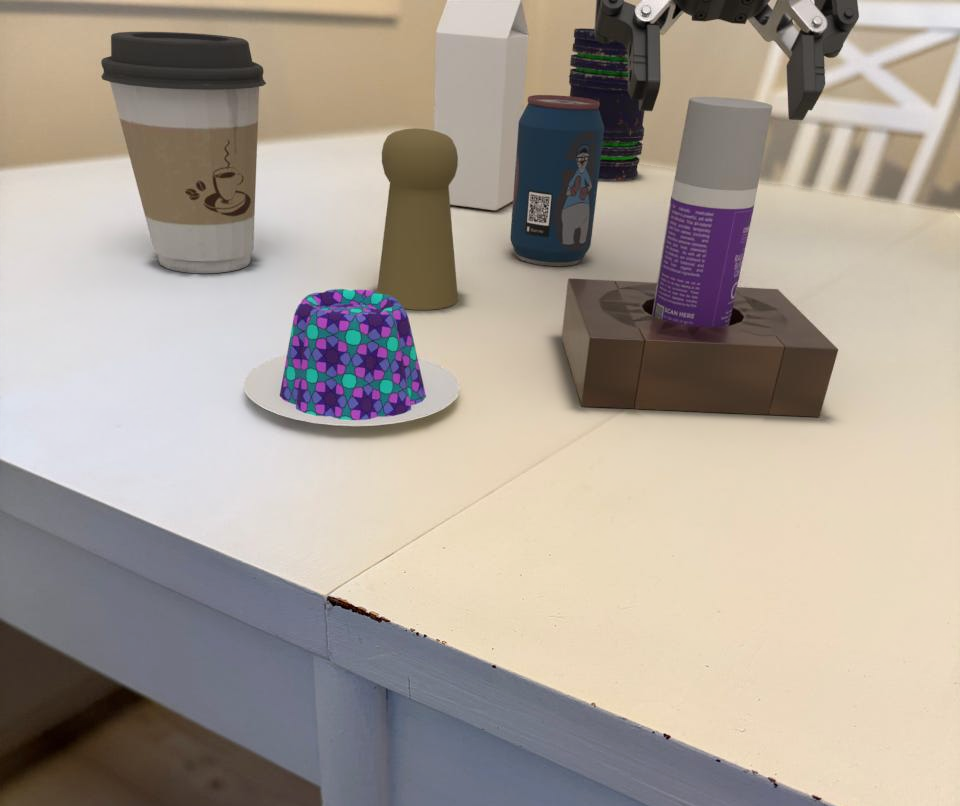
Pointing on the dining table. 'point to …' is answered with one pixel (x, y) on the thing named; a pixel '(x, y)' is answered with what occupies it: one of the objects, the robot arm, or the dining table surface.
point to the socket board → (694, 353)
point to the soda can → (556, 179)
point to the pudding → (351, 365)
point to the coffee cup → (190, 142)
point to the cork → (419, 220)
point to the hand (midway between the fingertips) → (726, 105)
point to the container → (711, 210)
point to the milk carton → (481, 96)
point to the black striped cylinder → (609, 102)
